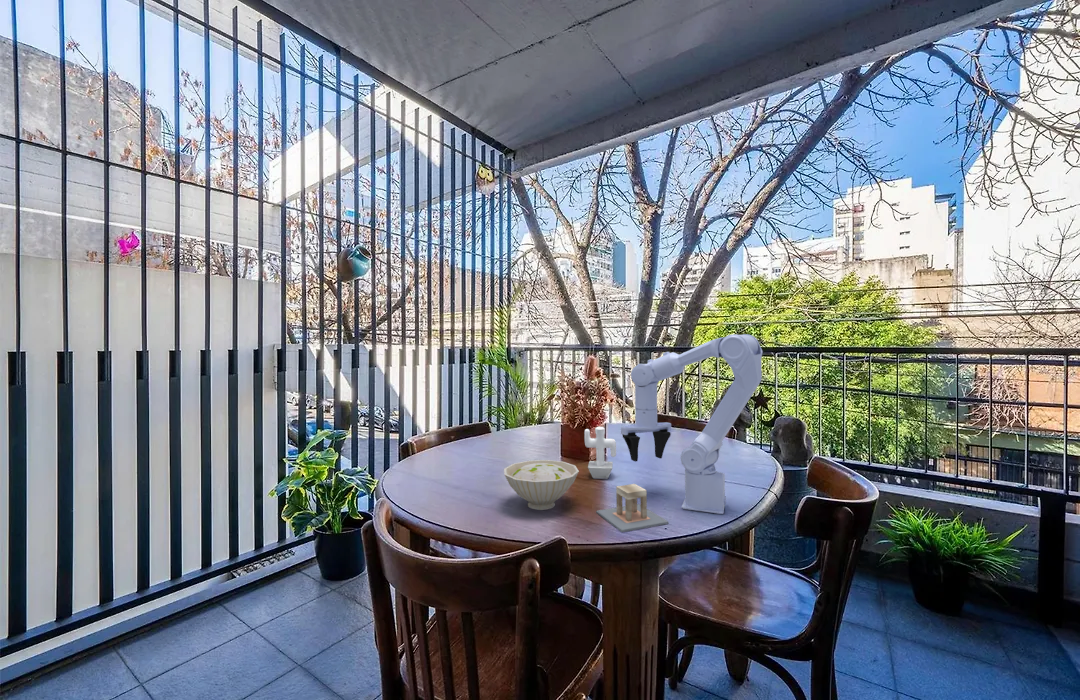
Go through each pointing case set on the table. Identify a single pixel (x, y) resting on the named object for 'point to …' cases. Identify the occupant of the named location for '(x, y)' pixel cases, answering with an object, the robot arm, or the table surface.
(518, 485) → the bowl
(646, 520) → the mat
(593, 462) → the figurine
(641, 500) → the stool
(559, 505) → the table surface
